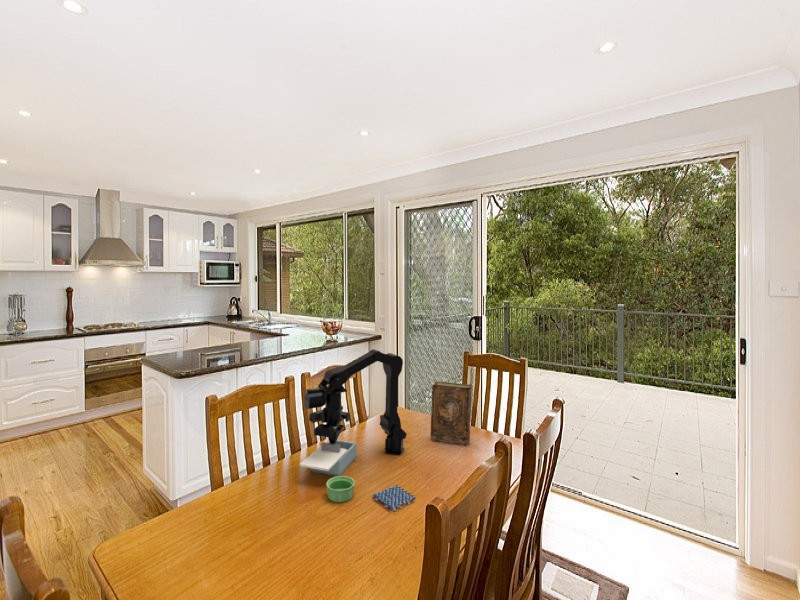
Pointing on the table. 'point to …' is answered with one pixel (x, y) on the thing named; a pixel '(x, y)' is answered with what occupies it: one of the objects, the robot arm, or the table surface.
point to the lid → (324, 457)
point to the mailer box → (341, 459)
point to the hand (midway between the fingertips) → (332, 446)
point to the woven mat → (393, 498)
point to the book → (451, 413)
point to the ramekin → (340, 488)
